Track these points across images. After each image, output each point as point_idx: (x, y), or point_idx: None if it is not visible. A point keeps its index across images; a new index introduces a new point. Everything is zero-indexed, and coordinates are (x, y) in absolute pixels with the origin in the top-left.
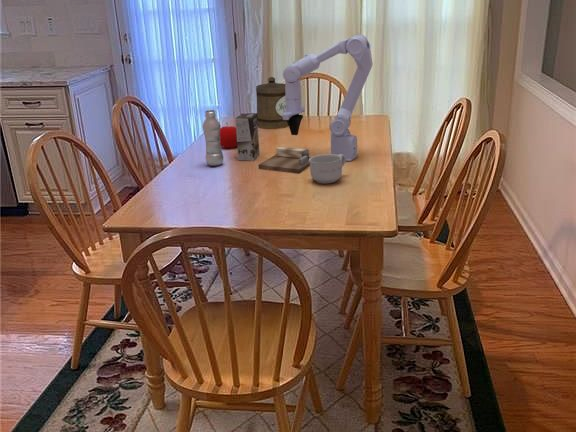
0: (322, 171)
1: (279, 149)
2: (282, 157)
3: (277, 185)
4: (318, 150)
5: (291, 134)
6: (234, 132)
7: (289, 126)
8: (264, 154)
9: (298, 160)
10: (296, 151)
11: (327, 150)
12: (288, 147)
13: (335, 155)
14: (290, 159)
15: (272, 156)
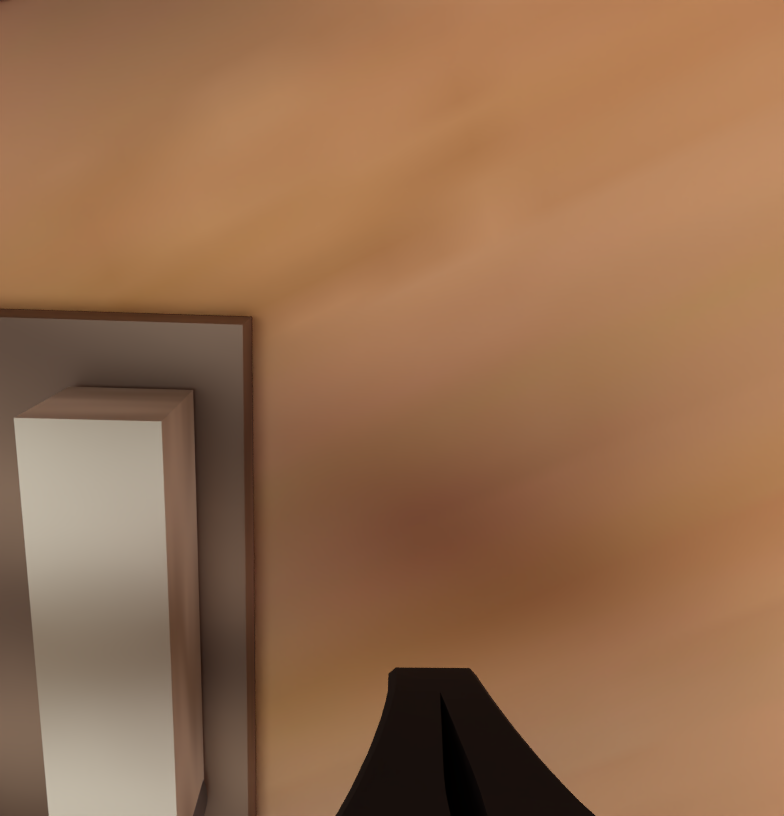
0: None
1: (26, 483)
2: None
3: None
4: (719, 702)
5: (389, 675)
6: None
7: (343, 809)
8: (326, 27)
9: (32, 748)
10: (52, 775)
11: (740, 798)
12: (168, 597)
13: None
14: (27, 637)
15: (54, 320)
